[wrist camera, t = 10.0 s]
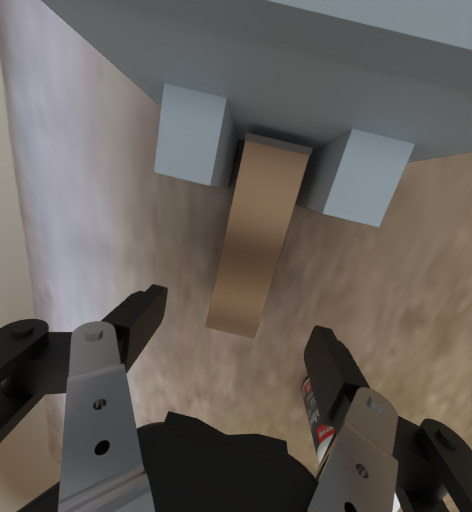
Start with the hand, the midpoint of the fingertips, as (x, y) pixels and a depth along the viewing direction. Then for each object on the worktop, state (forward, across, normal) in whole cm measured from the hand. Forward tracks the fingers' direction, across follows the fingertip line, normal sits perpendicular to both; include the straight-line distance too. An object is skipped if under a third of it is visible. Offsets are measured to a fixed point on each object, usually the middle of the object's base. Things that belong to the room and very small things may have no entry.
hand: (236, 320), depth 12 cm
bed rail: (+11, 0, -2) cm, 11 cm away
